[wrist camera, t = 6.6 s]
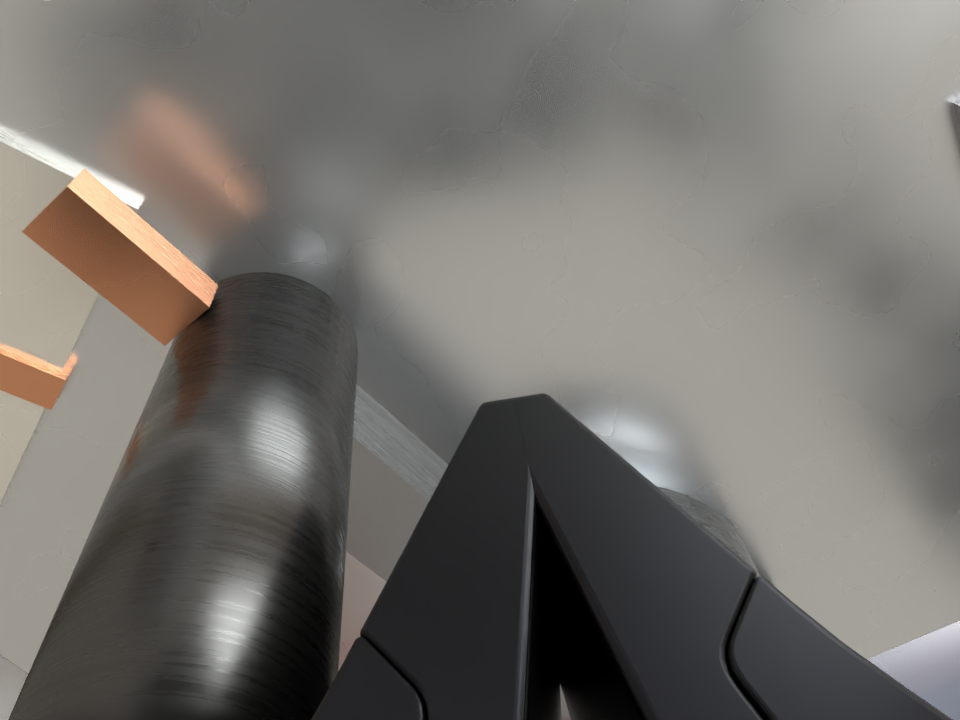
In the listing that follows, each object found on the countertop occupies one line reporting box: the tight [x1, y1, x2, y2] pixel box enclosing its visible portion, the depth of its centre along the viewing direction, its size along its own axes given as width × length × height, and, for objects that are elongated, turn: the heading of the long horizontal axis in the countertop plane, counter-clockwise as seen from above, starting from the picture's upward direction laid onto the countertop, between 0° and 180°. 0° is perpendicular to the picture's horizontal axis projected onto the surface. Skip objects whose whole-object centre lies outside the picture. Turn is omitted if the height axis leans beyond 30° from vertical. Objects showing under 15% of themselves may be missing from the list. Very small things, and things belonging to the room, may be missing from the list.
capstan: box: [9, 168, 768, 720], centre depth 11 cm, size 16×6×7 cm, turn 39°
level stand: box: [0, 0, 960, 674], centre depth 14 cm, size 18×19×2 cm
